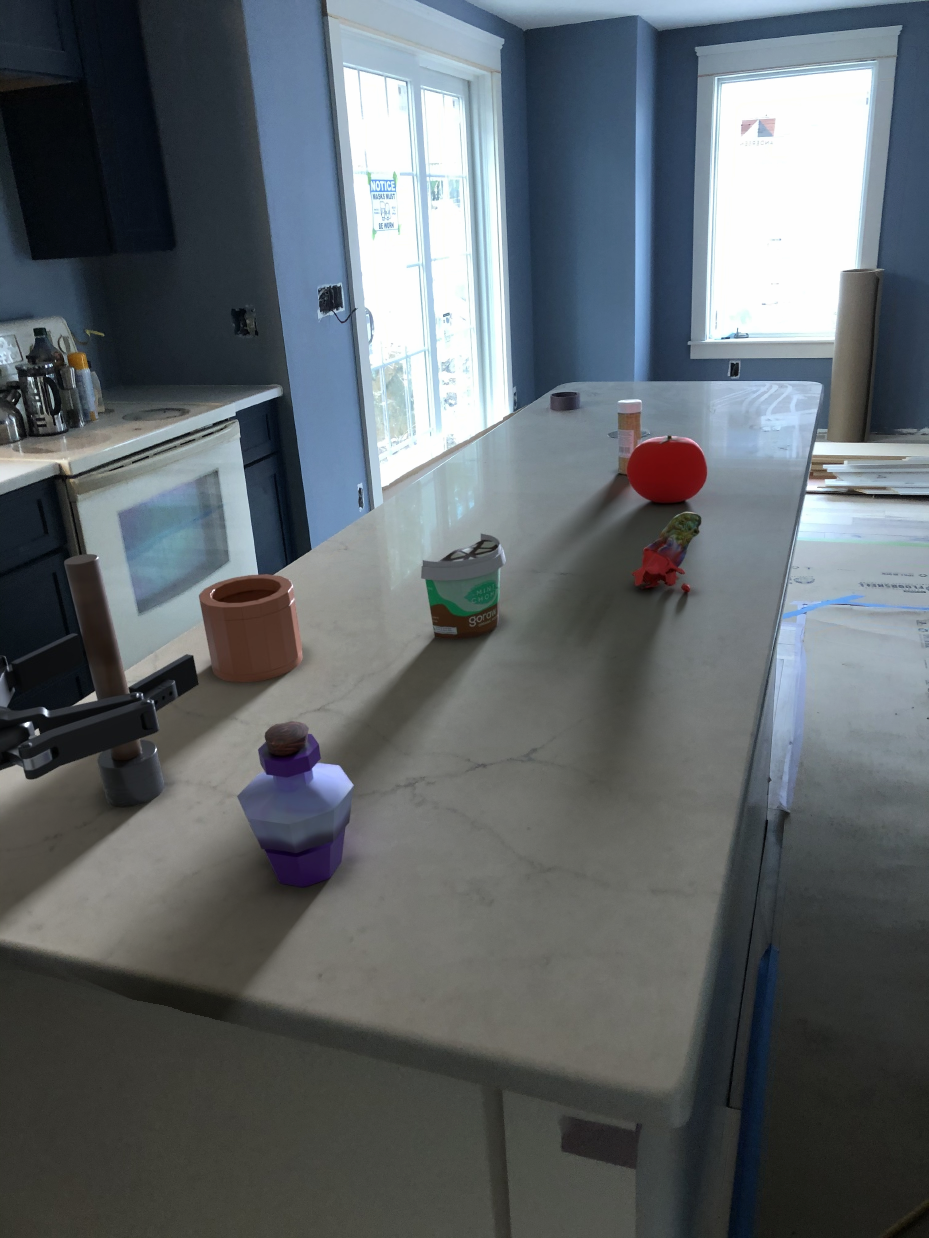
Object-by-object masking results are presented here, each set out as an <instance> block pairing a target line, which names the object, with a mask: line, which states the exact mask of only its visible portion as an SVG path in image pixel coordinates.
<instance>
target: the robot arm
mask: <svg viewBox="0 0 929 1238" xmlns="http://www.w3.org/2000/svg"><path fill="white" fill-rule="evenodd" d="M80 640H81V639H80V636H79V634H78V633H70V634H68V635H66V636H64V637H61V638H60V639H58V640H55V641H53V642H51V643H49V644H46V645H45V646H42V647H40V648H39V649H36V650H34V651H32V652H30V653H28V654H26V655H23V656H21V657H19V658H17V659H15V660H13V661H11V662H10V664H8V661H7V658H6V656H5V655H0V772H1V771H3V770H6V769H10V768H12V767H15V766H19V767H21V768H22V769H23V773H24V776H25V779H26V780H31V781H32V780H37V779H39V778H41V777H43V776H45V775H47V774H48V773H51V772H52V771H55V770H56V769H58V768H60V767H62V766H65V765H68V764H71V763H74V762H77V761H80V760H82V759H86V758H88V757H91V756H94V755H96V754H100V753H101V752H103V751H106V750H108V749H111V748H114V747H117V746H120V745H123V744H126V743H129V742H132V741H134V740H137V739H143V738H146V737H149V736H152V735H154V734H156V733H158V732H159V731H160V724H159V720H158V716H157V715H158V714H157V712H158V711H160V710H161V709H163V708H165V707H166V706H167V705H169V704H170V703H173V702H174V701H175V700H177V699H178V698H180V697H182V696H183V695H185V694H187V693H188V692H189V691H191V690H192V689H194V688H195V687H197V686H199V685H200V683H199V677H198V673H197V667H196V661H195V657H194V655H193V654H189V653H186V654H183V655H182V656H181V657H179V658H177V659H175V660H173V661H172V662H170V663H168V664H167V665H165V666H163V667H161V668H160V669H158V670H156V671H154V672H152V673H151V674H149V675H147V676H145V677H144V678H142V679H139V681H137V682H135V683H133V684H132V685H130V686H128V690H129V694H124V695H119V696H115V697H110V698H106V699H101V700H97V699H96V700H93V701H88V702H83V703H80V704H74V705H70V706H66V707H62V708H57V709H52V710H49V709H46V707H43V706H37V707H36V706H35V707H33V708H28V709H23V710H12V709H11V708H9V707H8V706H9V704H10V702H11V700H12V698H13V696H14V693H15V691H16V690H15V687H17V690H18V693H19V692H20V693H27V692H29V691H31V690H33V689H35V688H37V687H38V686H41V685H42V684H44V683H47V682H48V681H50V680H52V679H54V678H56V677H58V676H60V675H62V674H64V673H66V672H68V671H70V670H72V669H74V668H75V667H78V666H79V665H82V664H83V663H85V662H86V660H85V657H84V653H83V648H82V645H81V641H80ZM33 723H35V724H36V725H37V729H38V733H39V734H38V735H37V734H36V731H35V727H34V724H33Z"/></svg>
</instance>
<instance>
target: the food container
mask: <svg viewBox="0 0 929 1238" xmlns="http://www.w3.org/2000/svg"><path fill="white" fill-rule="evenodd" d="M505 555H506V554H505V551H504V548H503V546H502V544H501V542H500V540H499V539H498V538H497V537H495V536H493V535H490V534H486V533H483V532H480V540H478V541H477V542H476V543H473V544H471V545H469V546H467V547H462V548H458V549H454V550H453V551H451V552H450V553H448V554H447V555H445V556H444V557H443V558H441V559H440V560H438V561H434V560H433V561H432V560H426V559H422V566H421V574H420V575H421V576H420V579H422V580H425V587H426V593H427V598H428V599H427V600H428V605H429V610H430V617H431V623H432V629H433V630H432V631H433V635H434V638H437V639H442V640H467V639H472V638H477V637H481V636H484V635H486V634H487V635H488V634H489V633H490V632H492V631H494V630H495V629H496V628H497V627H498V626H499V621H500V620H499V619H500V618H499V616H500V589H501V588H500V586H501V585H500V584H501V583H500V582H501V568H502V567H503V566H504V565H505V563H506V560H507V559H506V556H505Z"/></svg>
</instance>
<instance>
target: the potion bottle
mask: <svg viewBox="0 0 929 1238" xmlns="http://www.w3.org/2000/svg"><path fill="white" fill-rule="evenodd" d="M309 729H310V727H309V726H308V725H307V724H306V723H304V722H301V721H295V720H294V721H293V720H291V721H287V722H281V723H276V724H273V725H272V726H270V727H269V728H268V729H267V730H266V731H265V732H264V737H263V738H264V740H265V742H264V743H263V744H262V745H260V746H259V748H258V749H257V752H258V758H259V764H260V766H261V768H262V769H263V771H261V772H259V773H258V774H257V775H256V776H255V777H254V778H253V779H251V781H250V782H249V783H248V784H247V785H246V786H245V787H244V788H243V790H241V791H240V792H239V793H238V795H236V798H237V800H238V802H239V805H240V807H241V808H242V811H243V814H244V815H245V817H246V820H247V822H248V824H249V827H250V829H251V830H252V833H253V834H254V837H255V838H256V840H257V842H258V845H259V847H260V849H261V850H263V851H264V852H265V855H266V858H267V860H268V862H269V864H270V866H271V869H272V871H273V872H274V873H273V874H274V875H275V876H276V879H277V880H278V882H279V884H281V885H282V884H284V885H288V886H293V887H294V886H295V887H301V888H306V887H308V886H311V885H314V884H317V883H320V882H323V881H326V880H329V879H330V878H331V877H332V876H333V874H334V873H335V871H336V870H337V869H338V867H339V866H340V865H341V863H342V860H343V851H344V850H343V849H344V843H345V842H344V841H345V833H346V827H347V826H348V825H349V824H350V820H351V811H352V803H353V794H354V788H355V787H354V783H352V781H351V780H350V778H349V777H348V775H347V774H346V772H344V770H343V768H342V767H341V766H340V765H339V764H338V765H337V764H332V763H331V764H330V763H323V762H320V761H321V759H322V757H321V750H320V744H319V742H318V740H317V739H316V738H315V737H314V735H313V734H312V733H309Z"/></svg>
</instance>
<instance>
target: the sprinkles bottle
mask: <svg viewBox="0 0 929 1238" xmlns="http://www.w3.org/2000/svg"><path fill="white" fill-rule="evenodd" d="M642 411H643V402H642V400H641V399H634V398H633V399H631V398H630V399H622V400H618V401H617V403H616V412H617V456H618V459H617V460H618V468H617V472H618V473H619V474H621V475H627V465H628V461H629V459H630V456H631V454H632V452H633V451H634V449H635V448H636V447H637V446H638V445H640V444H641V443H642Z"/></svg>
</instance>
